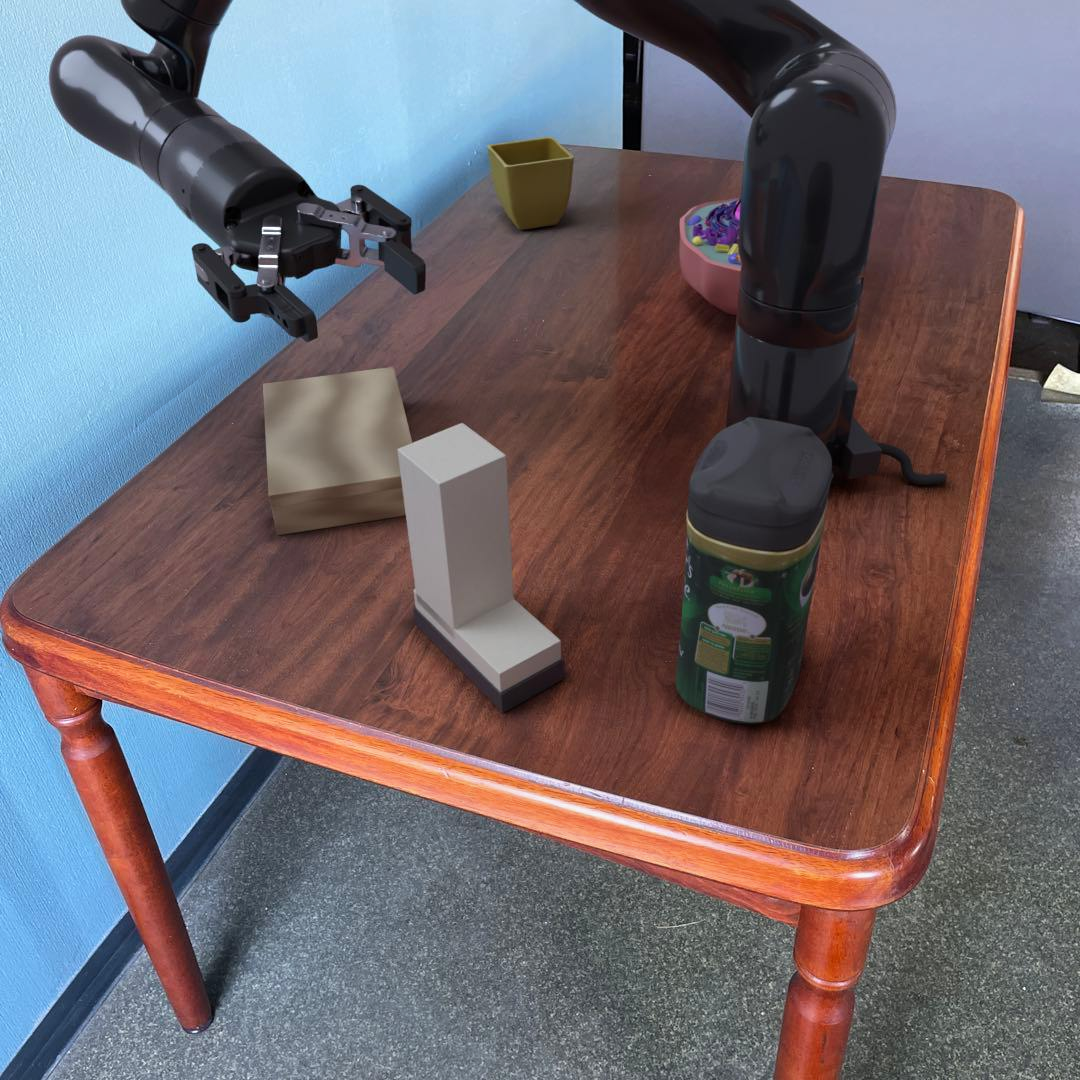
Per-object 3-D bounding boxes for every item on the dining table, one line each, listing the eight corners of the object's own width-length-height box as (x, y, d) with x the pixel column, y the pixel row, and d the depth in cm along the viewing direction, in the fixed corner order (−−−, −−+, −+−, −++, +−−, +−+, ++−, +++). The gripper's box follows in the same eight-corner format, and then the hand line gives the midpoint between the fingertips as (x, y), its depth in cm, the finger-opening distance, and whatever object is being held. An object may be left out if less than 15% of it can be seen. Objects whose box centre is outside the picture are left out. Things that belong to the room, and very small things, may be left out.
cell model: (652, 334, 112) (657, 229, 105) (694, 257, 127) (700, 161, 120) (817, 355, 108) (833, 248, 101) (840, 273, 122) (855, 174, 115)
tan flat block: (398, 403, 102) (393, 366, 100) (424, 512, 89) (420, 473, 86) (270, 420, 101) (262, 383, 98) (277, 535, 87) (268, 495, 84)
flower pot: (490, 214, 139) (486, 143, 133) (554, 204, 141) (552, 135, 135) (508, 239, 132) (505, 166, 127) (575, 229, 134) (575, 157, 129)
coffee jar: (701, 617, 78) (721, 395, 66) (810, 646, 75) (850, 419, 64) (658, 710, 71) (672, 479, 59) (777, 744, 68) (816, 510, 57)
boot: (415, 624, 78) (391, 445, 68) (474, 595, 80) (459, 418, 71) (502, 713, 71) (489, 528, 61) (564, 678, 73) (561, 494, 64)
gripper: (132, 173, 71) (267, 297, 63) (315, 113, 77) (456, 218, 70) (154, 268, 76) (280, 392, 69) (323, 205, 83) (454, 311, 76)
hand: (368, 304), depth 70 cm, fingers open, 8 cm apart
